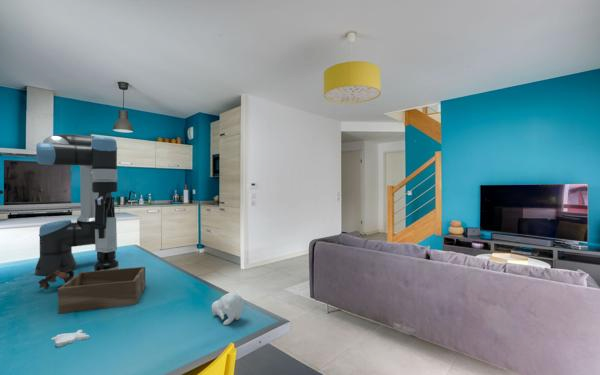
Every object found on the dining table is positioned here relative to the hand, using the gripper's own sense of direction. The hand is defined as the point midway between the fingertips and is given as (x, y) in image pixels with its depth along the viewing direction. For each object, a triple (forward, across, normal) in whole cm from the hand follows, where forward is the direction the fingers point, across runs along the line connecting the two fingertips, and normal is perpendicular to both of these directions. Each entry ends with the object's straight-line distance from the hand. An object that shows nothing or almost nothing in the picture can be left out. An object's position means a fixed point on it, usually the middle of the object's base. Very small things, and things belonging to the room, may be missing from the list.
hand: (106, 245), depth 105 cm
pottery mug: (+20, -18, -21) cm, 34 cm away
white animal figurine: (+20, +29, +39) cm, 53 cm away
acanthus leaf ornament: (+20, +28, -1) cm, 34 cm away
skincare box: (+2, 0, 0) cm, 2 cm away
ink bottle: (+19, -26, -7) cm, 33 cm away
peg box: (+19, 0, 0) cm, 19 cm away
